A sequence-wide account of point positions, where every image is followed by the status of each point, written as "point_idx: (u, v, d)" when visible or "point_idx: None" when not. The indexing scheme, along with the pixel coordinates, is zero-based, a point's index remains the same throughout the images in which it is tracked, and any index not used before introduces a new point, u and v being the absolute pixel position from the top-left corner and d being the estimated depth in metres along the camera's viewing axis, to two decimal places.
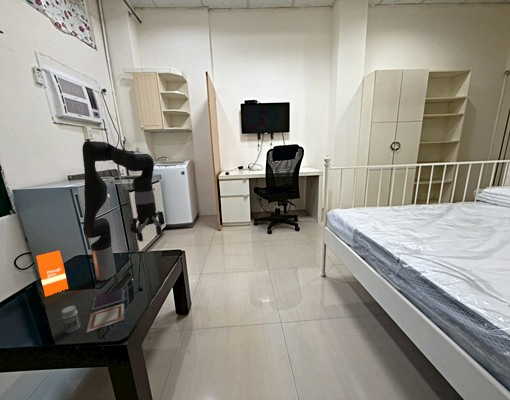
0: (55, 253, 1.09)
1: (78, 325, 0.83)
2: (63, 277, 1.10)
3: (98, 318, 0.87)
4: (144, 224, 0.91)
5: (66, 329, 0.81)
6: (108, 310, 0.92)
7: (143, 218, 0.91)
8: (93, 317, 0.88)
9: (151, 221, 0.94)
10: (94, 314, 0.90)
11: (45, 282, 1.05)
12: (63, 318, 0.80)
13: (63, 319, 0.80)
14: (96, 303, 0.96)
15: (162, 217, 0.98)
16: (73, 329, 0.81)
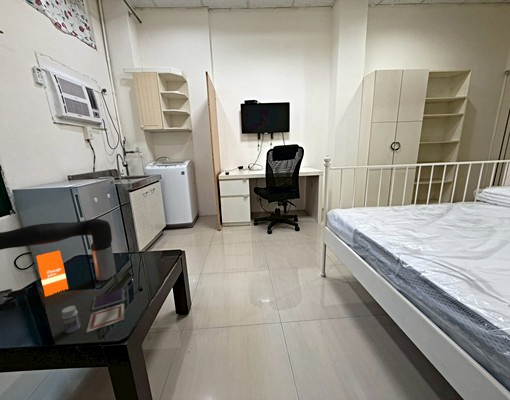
0: (55, 253, 1.09)
1: (78, 325, 0.83)
2: (63, 277, 1.10)
3: (98, 318, 0.87)
4: None
5: (66, 329, 0.81)
6: (108, 310, 0.92)
7: None
8: (93, 317, 0.88)
9: None
10: (94, 314, 0.90)
11: (45, 282, 1.05)
12: (63, 318, 0.80)
13: (63, 319, 0.80)
14: (96, 303, 0.96)
15: None
16: (73, 329, 0.81)
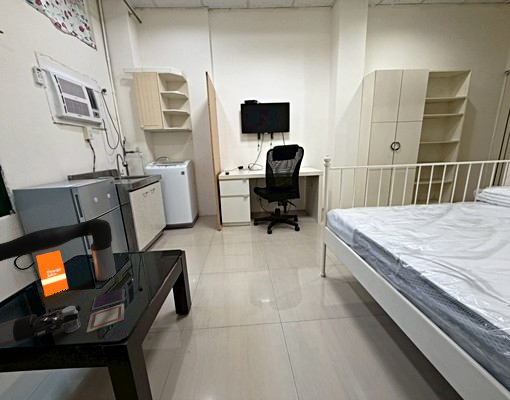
0: (55, 253, 1.09)
1: (78, 325, 0.83)
2: (63, 277, 1.10)
3: (98, 318, 0.87)
4: None
5: (66, 329, 0.81)
6: (108, 310, 0.92)
7: None
8: (93, 317, 0.88)
9: None
10: (94, 314, 0.90)
11: (45, 282, 1.05)
12: None
13: None
14: (96, 303, 0.96)
15: None
16: (73, 329, 0.81)
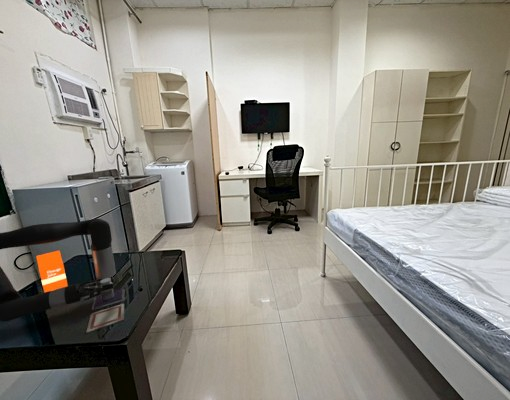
0: (55, 253, 1.09)
1: (113, 294, 1.00)
2: (63, 277, 1.10)
3: (98, 318, 0.87)
4: None
5: (104, 296, 0.98)
6: (108, 310, 0.92)
7: None
8: (93, 317, 0.88)
9: None
10: (94, 314, 0.90)
11: (45, 282, 1.05)
12: None
13: None
14: (96, 303, 0.96)
15: None
16: (109, 296, 0.98)
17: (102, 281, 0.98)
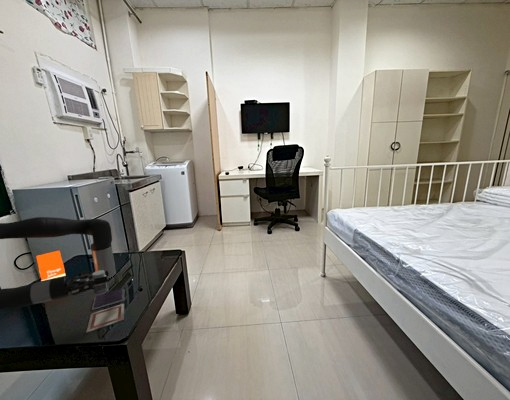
0: (55, 253, 1.09)
1: (107, 289, 0.86)
2: None
3: (98, 318, 0.87)
4: None
5: (96, 291, 0.84)
6: (108, 310, 0.92)
7: None
8: (93, 317, 0.88)
9: None
10: (94, 314, 0.90)
11: None
12: None
13: None
14: (96, 303, 0.96)
15: None
16: (102, 292, 0.85)
17: (94, 273, 0.84)
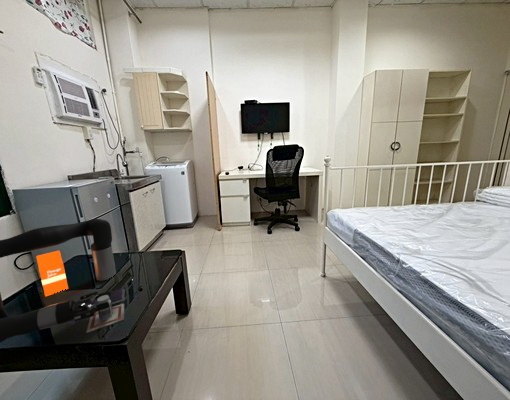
0: (55, 253, 1.09)
1: (111, 313, 0.88)
2: (63, 277, 1.10)
3: (98, 318, 0.87)
4: None
5: (101, 317, 0.86)
6: None
7: None
8: (93, 317, 0.88)
9: None
10: None
11: (45, 282, 1.05)
12: None
13: None
14: (96, 303, 0.96)
15: None
16: (107, 317, 0.87)
17: (99, 299, 0.86)
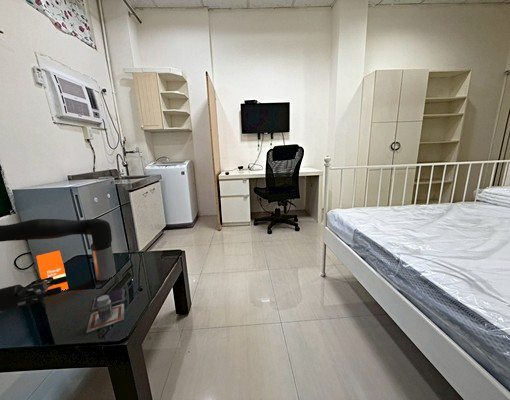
0: (55, 253, 1.09)
1: (111, 313, 0.88)
2: None
3: (98, 318, 0.87)
4: None
5: (101, 317, 0.86)
6: None
7: None
8: (93, 317, 0.88)
9: None
10: (94, 314, 0.90)
11: None
12: (98, 306, 0.85)
13: (98, 307, 0.85)
14: (96, 303, 0.96)
15: None
16: (107, 317, 0.87)
17: (99, 299, 0.86)
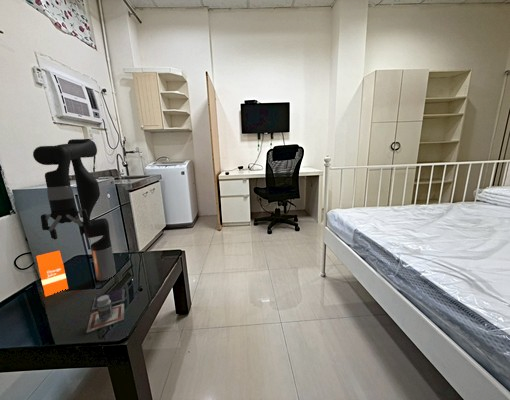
0: (55, 253, 1.09)
1: (111, 313, 0.88)
2: (63, 277, 1.10)
3: (98, 318, 0.87)
4: (55, 222, 0.85)
5: (101, 317, 0.86)
6: None
7: (55, 215, 0.85)
8: (93, 317, 0.88)
9: (68, 219, 0.87)
10: (94, 314, 0.90)
11: (45, 282, 1.05)
12: (98, 306, 0.85)
13: (98, 307, 0.85)
14: (96, 303, 0.96)
15: (84, 216, 0.89)
16: (107, 317, 0.87)
17: (99, 299, 0.86)
